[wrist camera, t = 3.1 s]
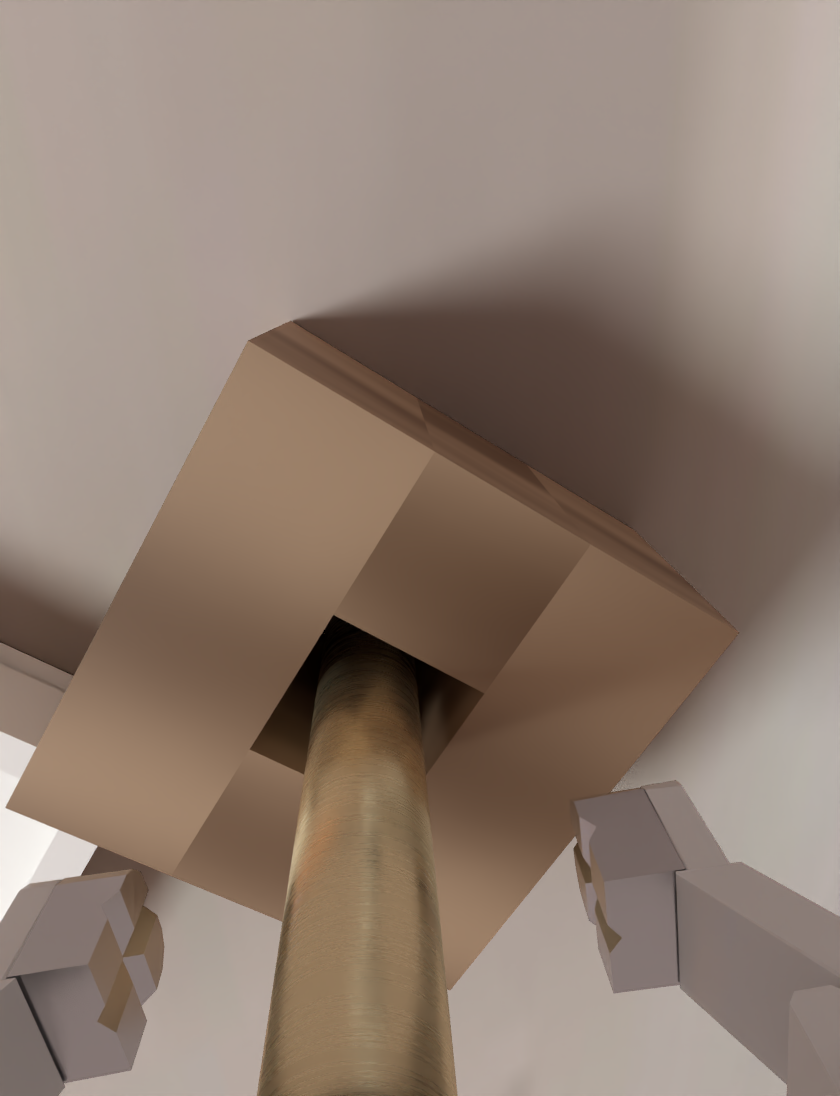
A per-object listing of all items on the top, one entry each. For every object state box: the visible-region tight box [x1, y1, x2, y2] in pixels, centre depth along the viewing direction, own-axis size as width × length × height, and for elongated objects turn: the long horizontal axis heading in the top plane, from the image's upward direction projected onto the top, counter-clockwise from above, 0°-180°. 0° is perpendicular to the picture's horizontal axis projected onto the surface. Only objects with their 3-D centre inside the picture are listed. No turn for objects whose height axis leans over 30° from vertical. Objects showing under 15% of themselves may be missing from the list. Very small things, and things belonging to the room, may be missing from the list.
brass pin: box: [257, 615, 457, 1096], centre depth 13 cm, size 3×3×15 cm
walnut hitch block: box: [5, 321, 739, 990], centre depth 17 cm, size 10×10×6 cm
